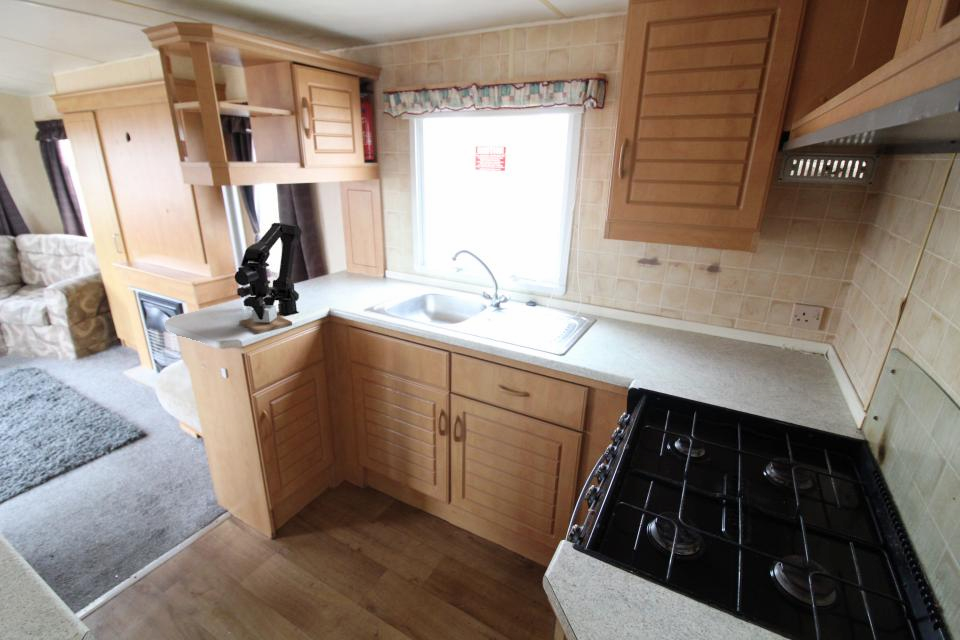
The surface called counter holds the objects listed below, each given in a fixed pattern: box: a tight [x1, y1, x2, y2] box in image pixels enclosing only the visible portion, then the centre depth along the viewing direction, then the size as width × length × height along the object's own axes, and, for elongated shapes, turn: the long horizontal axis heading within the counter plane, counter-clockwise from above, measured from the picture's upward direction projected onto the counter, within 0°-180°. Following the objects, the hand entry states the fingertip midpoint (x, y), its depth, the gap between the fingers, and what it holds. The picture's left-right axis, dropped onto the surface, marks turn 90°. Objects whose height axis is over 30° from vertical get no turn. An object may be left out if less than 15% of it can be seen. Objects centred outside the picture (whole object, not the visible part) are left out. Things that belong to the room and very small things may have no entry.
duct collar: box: [251, 305, 278, 322], centre depth 183 cm, size 7×7×5 cm
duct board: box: [238, 308, 293, 335], centre depth 184 cm, size 14×16×6 cm
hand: (264, 316), depth 184 cm, fingers closed on duct collar, 7 cm apart
